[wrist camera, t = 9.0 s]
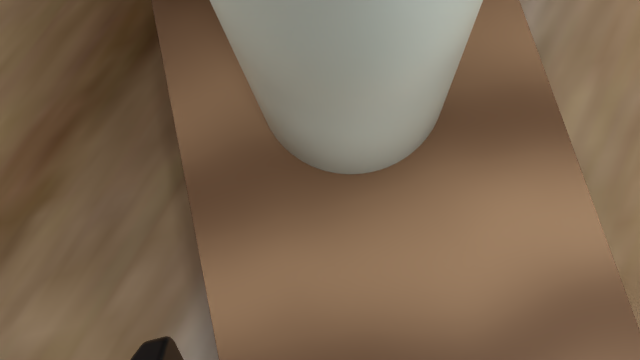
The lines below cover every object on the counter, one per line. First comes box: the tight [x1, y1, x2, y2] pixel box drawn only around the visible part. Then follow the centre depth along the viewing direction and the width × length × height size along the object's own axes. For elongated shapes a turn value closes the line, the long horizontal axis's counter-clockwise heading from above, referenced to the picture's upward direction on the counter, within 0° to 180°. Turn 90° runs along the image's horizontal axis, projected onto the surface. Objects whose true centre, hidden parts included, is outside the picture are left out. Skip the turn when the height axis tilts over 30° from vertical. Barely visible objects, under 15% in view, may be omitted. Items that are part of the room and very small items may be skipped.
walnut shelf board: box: [151, 0, 640, 360], centre depth 17 cm, size 20×12×6 cm, turn 14°
